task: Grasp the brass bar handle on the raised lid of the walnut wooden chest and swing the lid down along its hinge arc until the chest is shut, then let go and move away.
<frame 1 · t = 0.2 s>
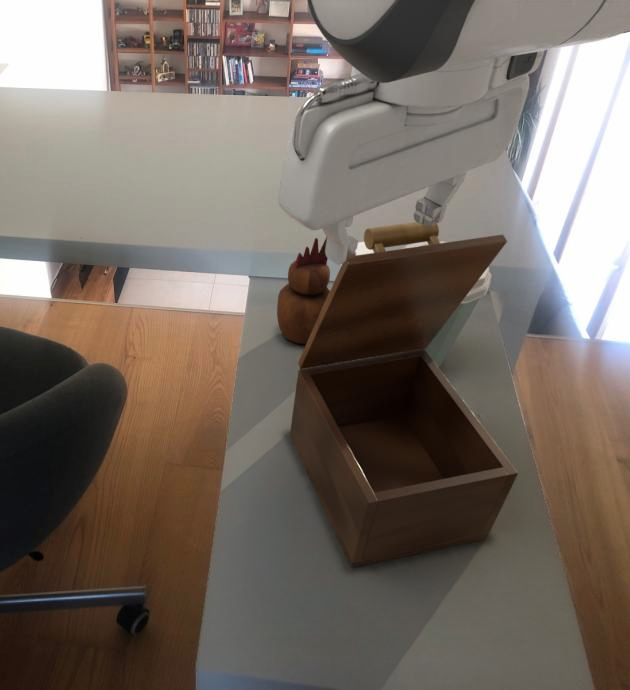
hand: (384, 239, 54), 28 cm above the table, tool pointing down, fingers open, 8 cm apart
supplement bottle: (353, 316, 92), on the table
chest: (380, 483, 71), on the table
lid: (383, 290, 64), point 19 cm above the table, hinge at 70.0°
wooden figurine: (300, 336, 89), on the table
disposable coffee cup: (415, 360, 86), on the table
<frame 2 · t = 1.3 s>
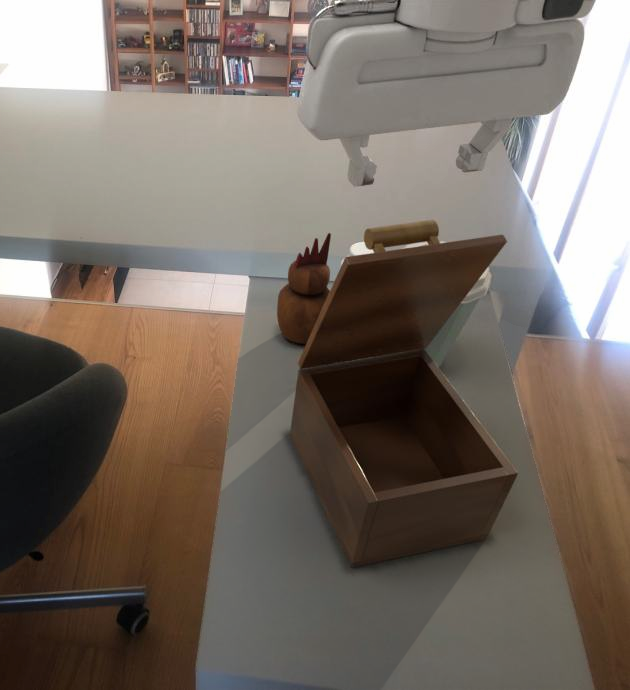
hand: (414, 175, 56), 31 cm above the table, tool pointing down, fingers open, 8 cm apart
nothing on the table moved.
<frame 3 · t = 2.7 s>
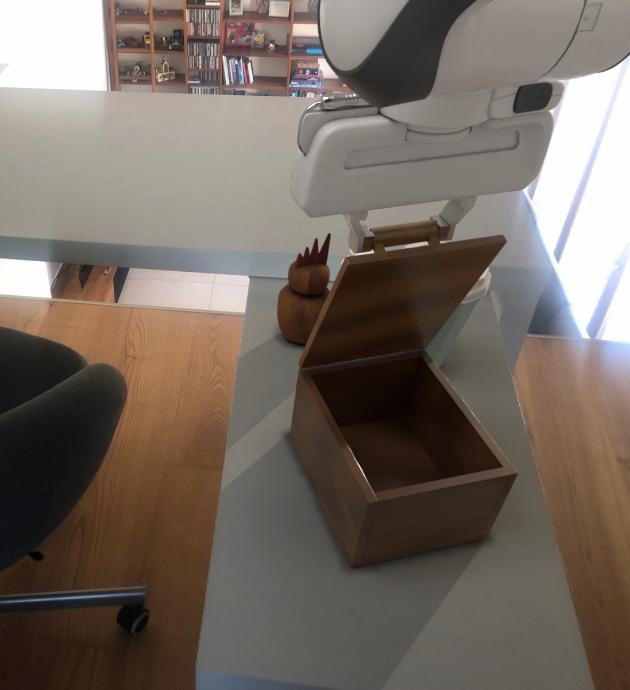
hand: (399, 243, 60), 25 cm above the table, tool pointing down, fingers closed on lid, 6 cm apart
lid: (383, 290, 64), point 19 cm above the table, hinge at 70.0°, touching gripper
everything else where it was.
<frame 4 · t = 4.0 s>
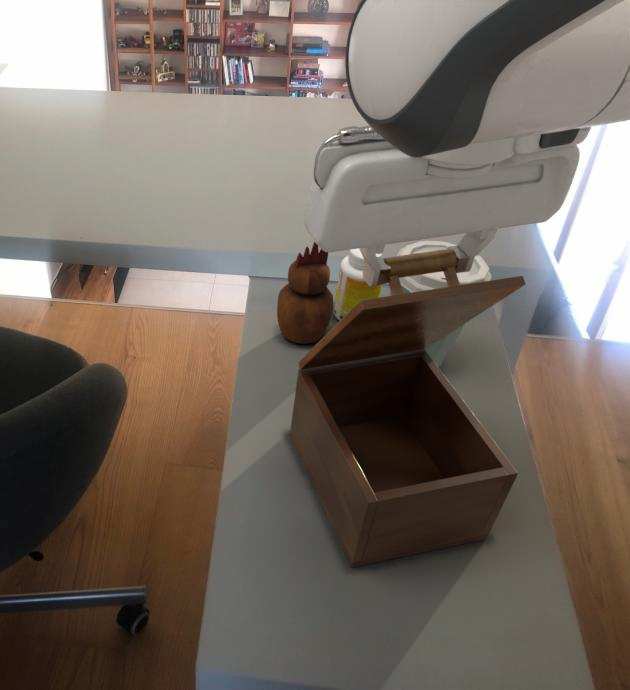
hand: (416, 275, 58), 24 cm above the table, tool pointing down, fingers closed on lid, 6 cm apart
lid: (392, 307, 63), point 19 cm above the table, hinge at 57.2°, touching gripper
everything else where it was.
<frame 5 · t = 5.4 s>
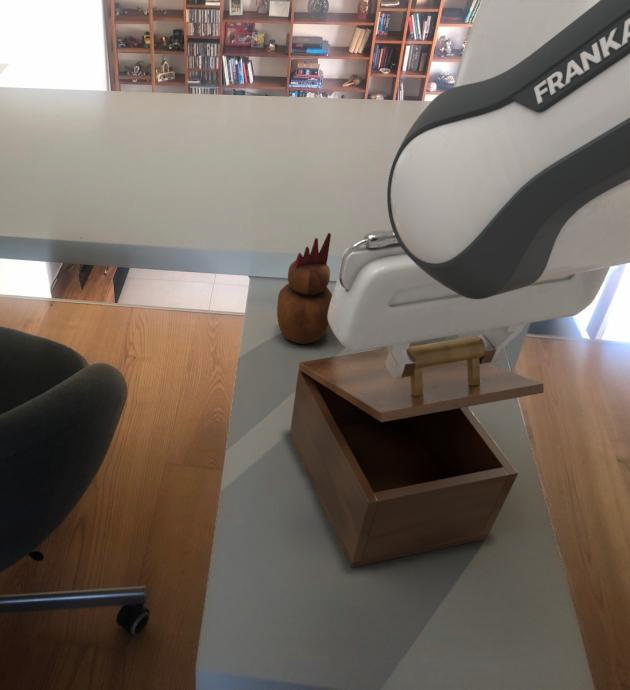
hand: (440, 365, 56), 19 cm above the table, tool pointing down, fingers closed on lid, 6 cm apart
lid: (405, 354, 62), point 16 cm above the table, hinge at 28.7°, touching gripper
everything else where it was.
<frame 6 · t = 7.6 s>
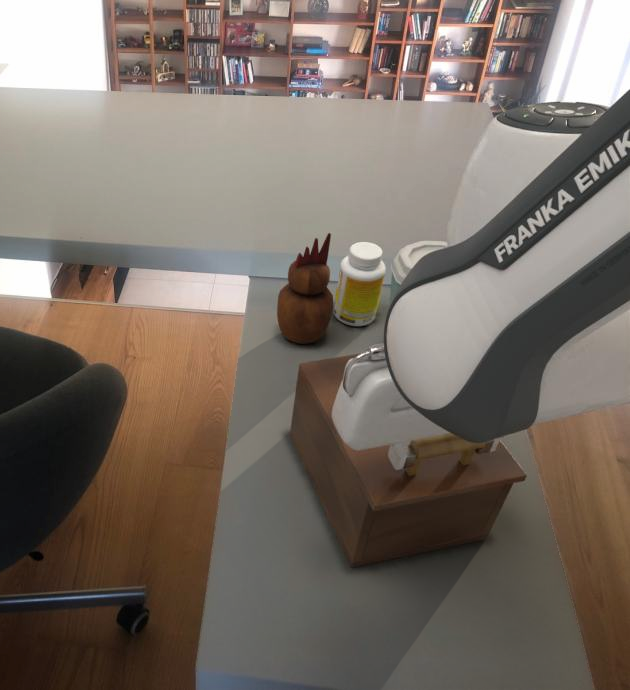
hand: (440, 454, 58), 12 cm above the table, tool pointing down, fingers closed on lid, 6 cm apart
lid: (407, 402, 63), point 12 cm above the table, hinge at -0.2°, touching chest, gripper
everything else where it was.
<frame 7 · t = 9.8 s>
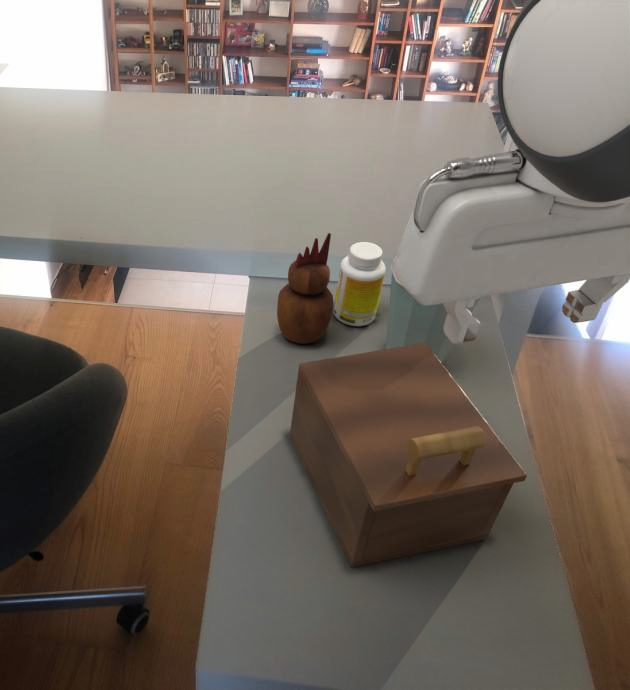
hand: (518, 327, 49), 26 cm above the table, tool pointing down, fingers open, 8 cm apart
lid: (407, 402, 63), point 12 cm above the table, hinge at -0.2°, touching chest
everything else where it was.
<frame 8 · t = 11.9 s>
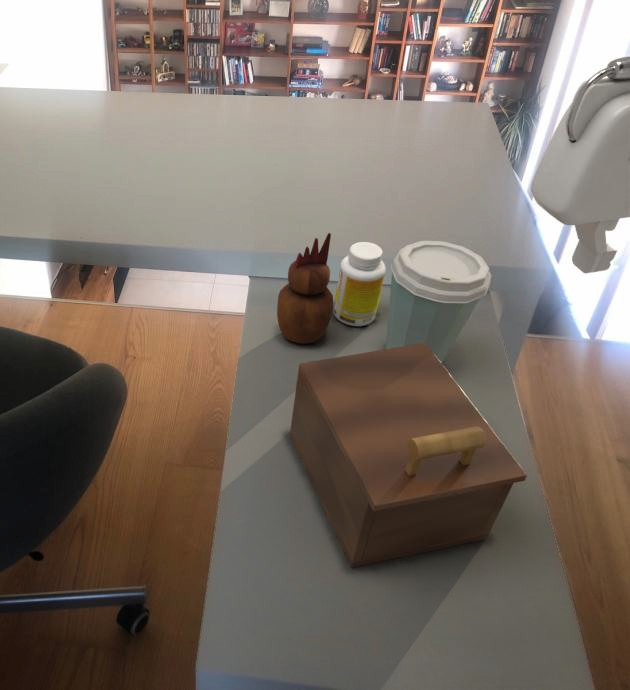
nothing on the table moved.
at the end: lid at +0° (first picture: +70°); the gripper is holding nothing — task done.
